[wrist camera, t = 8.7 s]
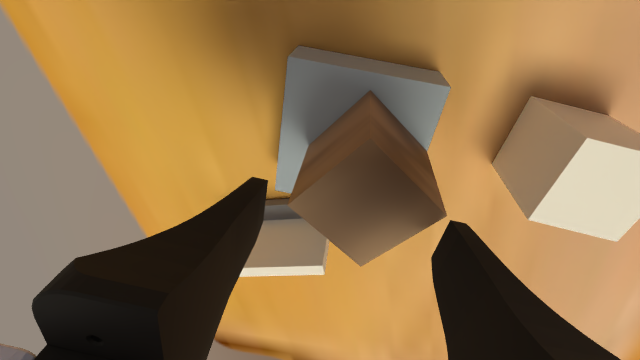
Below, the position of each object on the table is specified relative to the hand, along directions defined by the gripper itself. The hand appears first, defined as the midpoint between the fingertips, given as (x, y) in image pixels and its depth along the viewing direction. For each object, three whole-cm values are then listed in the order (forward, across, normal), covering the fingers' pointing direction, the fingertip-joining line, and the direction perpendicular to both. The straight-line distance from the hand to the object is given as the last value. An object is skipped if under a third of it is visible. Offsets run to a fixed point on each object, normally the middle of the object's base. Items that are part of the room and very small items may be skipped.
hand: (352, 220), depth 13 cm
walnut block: (+7, -1, 0) cm, 7 cm away
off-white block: (+10, -12, -1) cm, 16 cm away
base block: (+11, 0, 0) cm, 11 cm away
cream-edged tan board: (+10, +4, +9) cm, 14 cm away
